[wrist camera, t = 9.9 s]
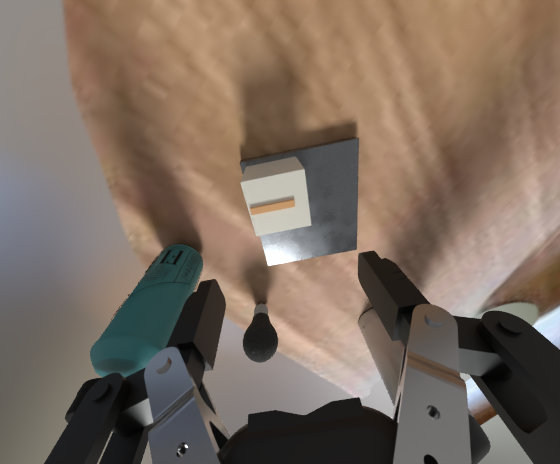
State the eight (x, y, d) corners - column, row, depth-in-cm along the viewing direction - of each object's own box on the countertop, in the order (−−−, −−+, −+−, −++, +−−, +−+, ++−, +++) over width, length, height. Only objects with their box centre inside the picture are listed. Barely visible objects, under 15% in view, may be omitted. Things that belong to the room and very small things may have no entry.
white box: (295, 156, 24) (305, 169, 18) (302, 202, 27) (312, 226, 21) (245, 166, 24) (240, 183, 18) (258, 211, 27) (256, 237, 21)
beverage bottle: (195, 232, 30) (99, 397, 12) (214, 265, 33) (160, 431, 16) (154, 243, 30) (9, 416, 13) (177, 275, 34) (86, 445, 16)
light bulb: (240, 306, 38) (233, 362, 30) (259, 290, 37) (257, 344, 28) (262, 318, 41) (262, 373, 32) (281, 303, 39) (286, 357, 30)
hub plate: (353, 137, 24) (377, 143, 19) (352, 244, 33) (369, 268, 27) (241, 160, 25) (234, 172, 20) (268, 259, 33) (268, 287, 28)
